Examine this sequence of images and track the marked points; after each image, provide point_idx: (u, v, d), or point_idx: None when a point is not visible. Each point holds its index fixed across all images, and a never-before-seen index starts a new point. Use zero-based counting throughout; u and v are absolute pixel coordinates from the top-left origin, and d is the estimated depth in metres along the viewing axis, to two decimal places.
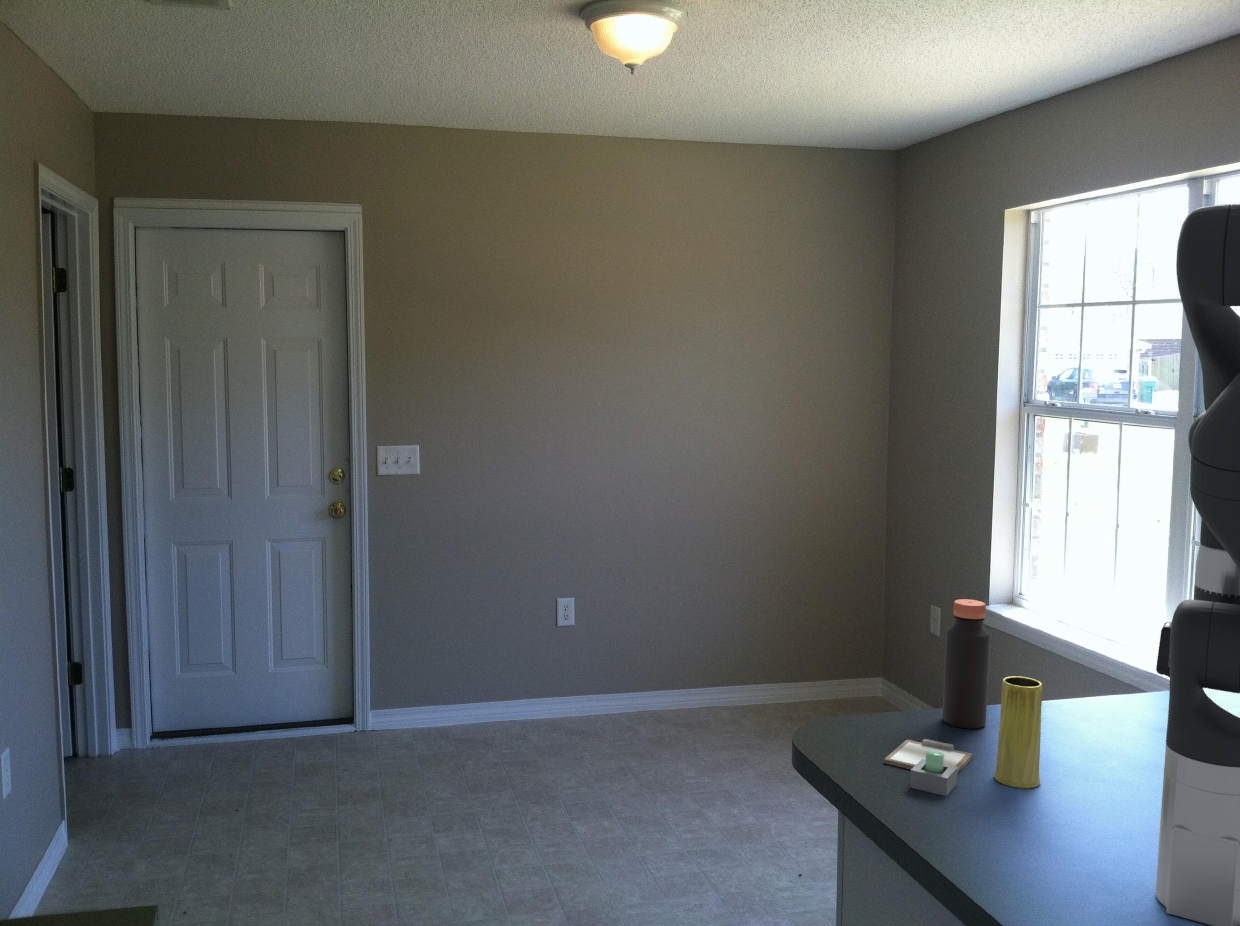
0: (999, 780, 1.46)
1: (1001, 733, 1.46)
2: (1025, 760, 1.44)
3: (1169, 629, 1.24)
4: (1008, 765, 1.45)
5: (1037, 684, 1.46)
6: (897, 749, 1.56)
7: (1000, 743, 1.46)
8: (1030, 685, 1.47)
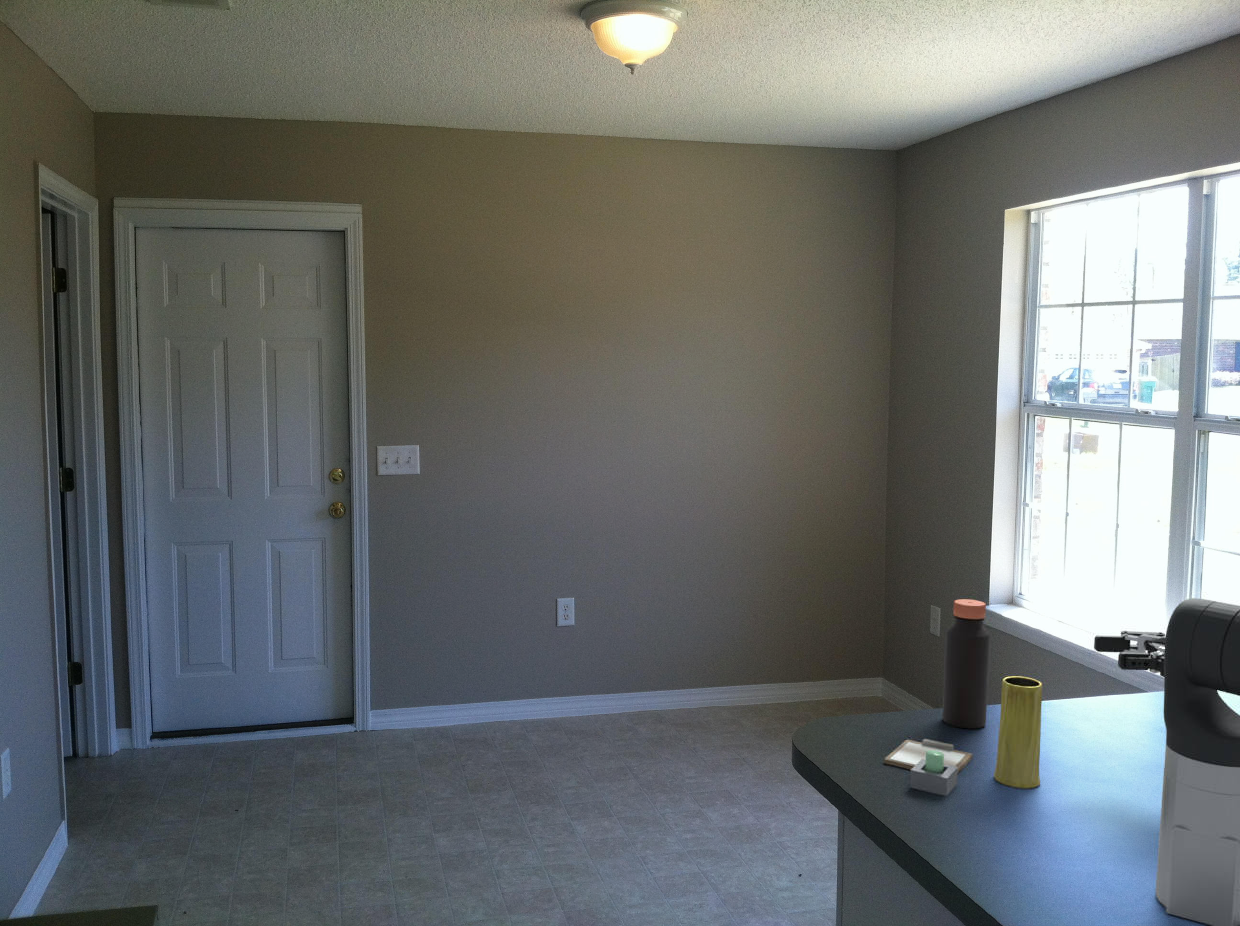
0: (999, 780, 1.46)
1: (1001, 733, 1.46)
2: (1025, 760, 1.44)
3: (1163, 634, 1.50)
4: (1008, 765, 1.45)
5: (1037, 684, 1.46)
6: (897, 749, 1.56)
7: (1000, 743, 1.46)
8: (1030, 685, 1.47)
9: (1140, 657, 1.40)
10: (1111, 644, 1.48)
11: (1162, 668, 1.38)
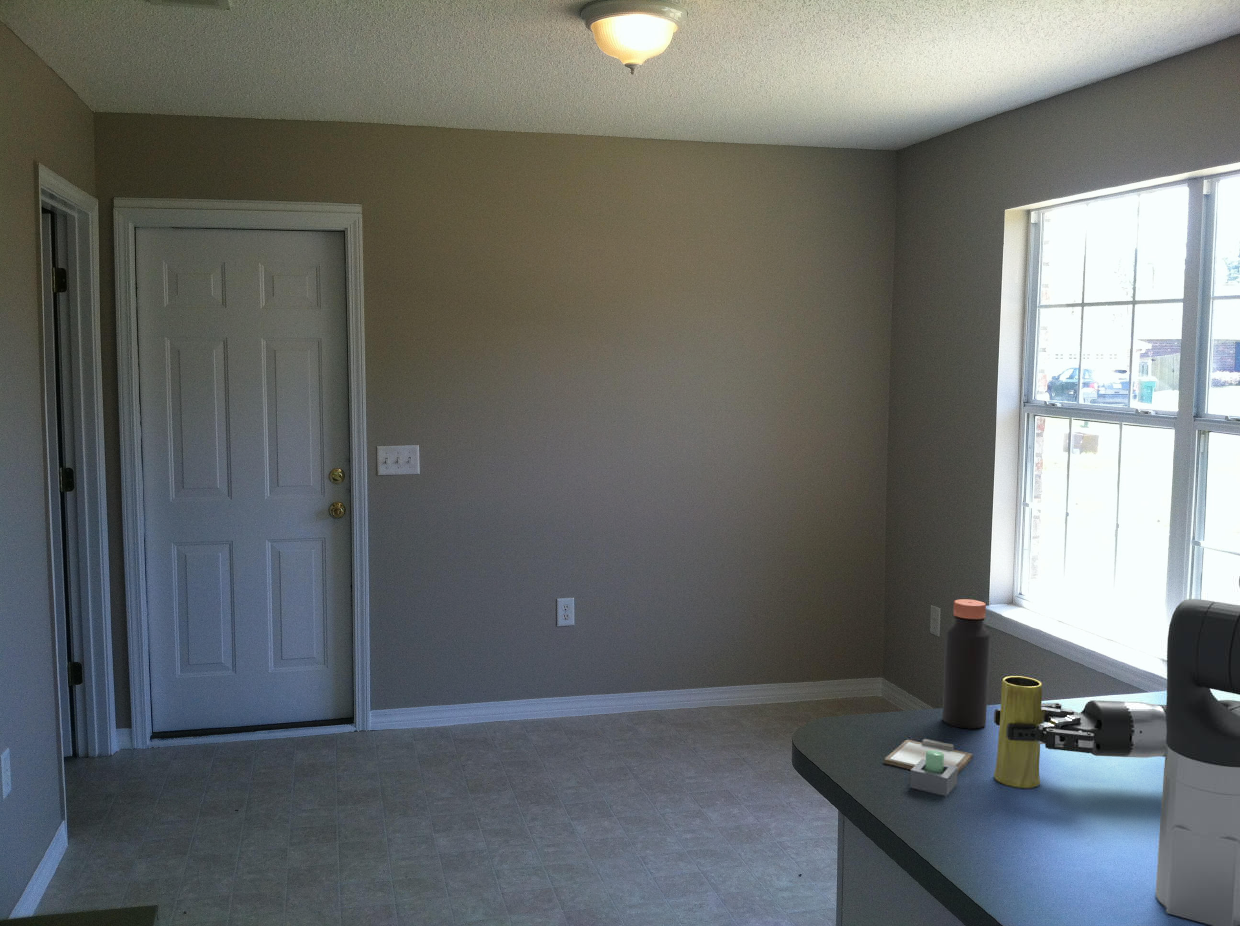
0: (999, 780, 1.46)
1: (1001, 733, 1.46)
2: (1025, 760, 1.44)
3: (1060, 704, 1.52)
4: (1008, 765, 1.45)
5: (1037, 684, 1.46)
6: (897, 749, 1.56)
7: (1000, 743, 1.46)
8: (1030, 685, 1.47)
9: (1027, 728, 1.43)
10: None
11: (1047, 740, 1.41)
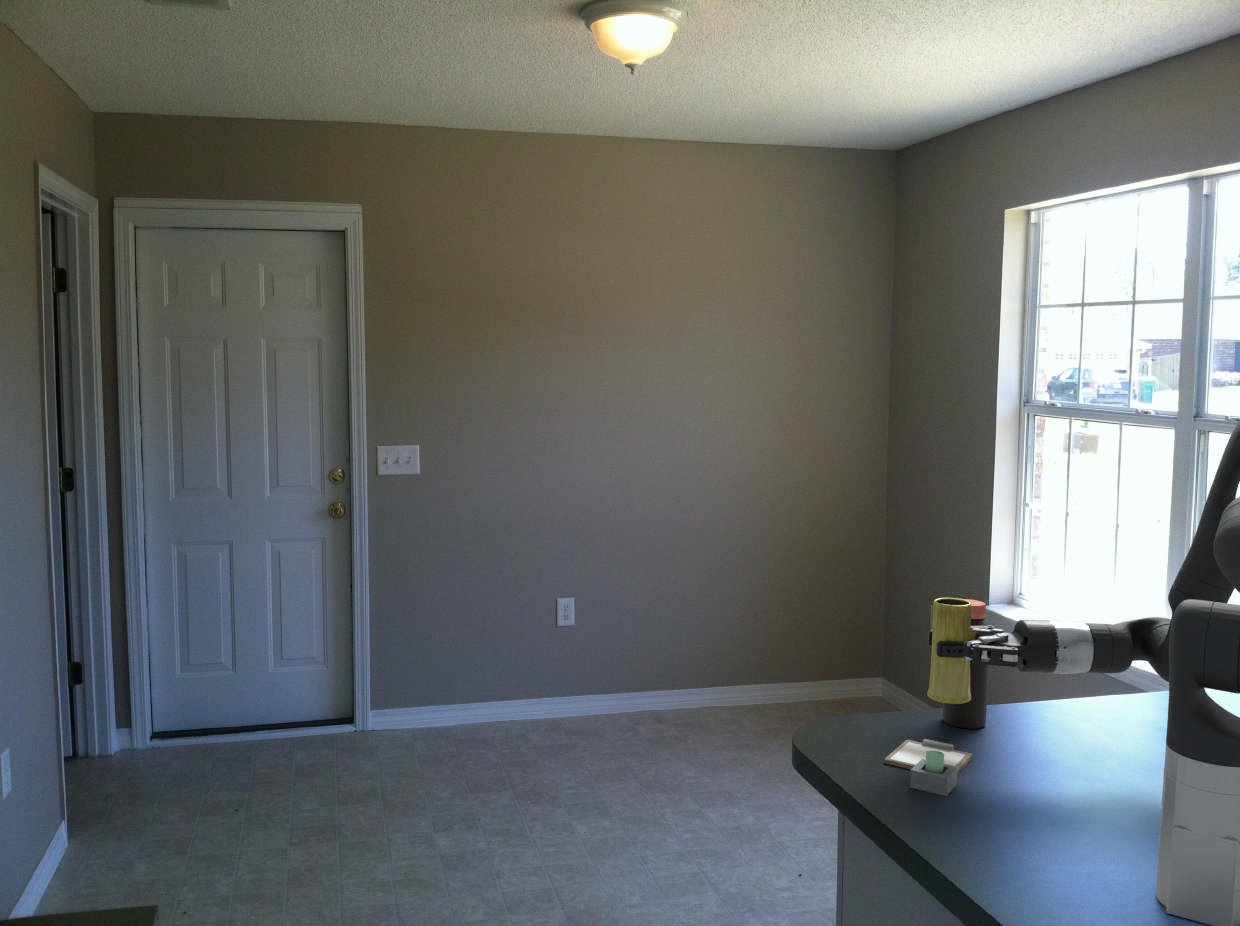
0: (931, 697, 1.51)
1: (933, 652, 1.52)
2: (955, 676, 1.49)
3: (993, 626, 1.57)
4: (939, 682, 1.50)
5: (967, 604, 1.52)
6: (897, 749, 1.56)
7: (932, 661, 1.52)
8: None
9: (955, 645, 1.48)
10: None
11: (973, 655, 1.46)
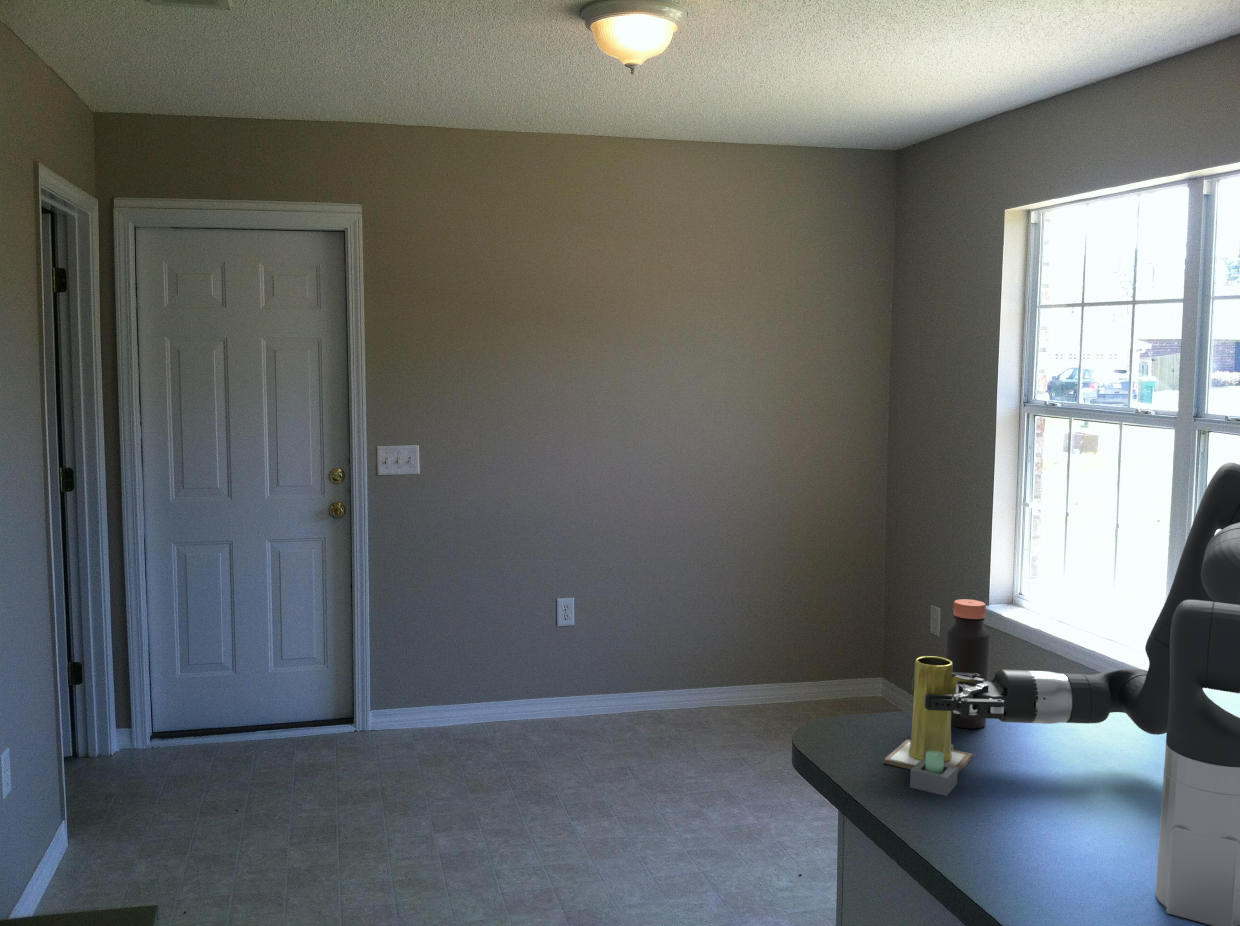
0: (913, 755, 1.53)
1: (914, 710, 1.53)
2: (936, 735, 1.51)
3: (978, 675, 1.58)
4: (920, 741, 1.52)
5: (948, 663, 1.53)
6: (897, 749, 1.56)
7: (913, 720, 1.53)
8: (942, 664, 1.54)
9: (943, 698, 1.48)
10: None
11: (962, 709, 1.46)
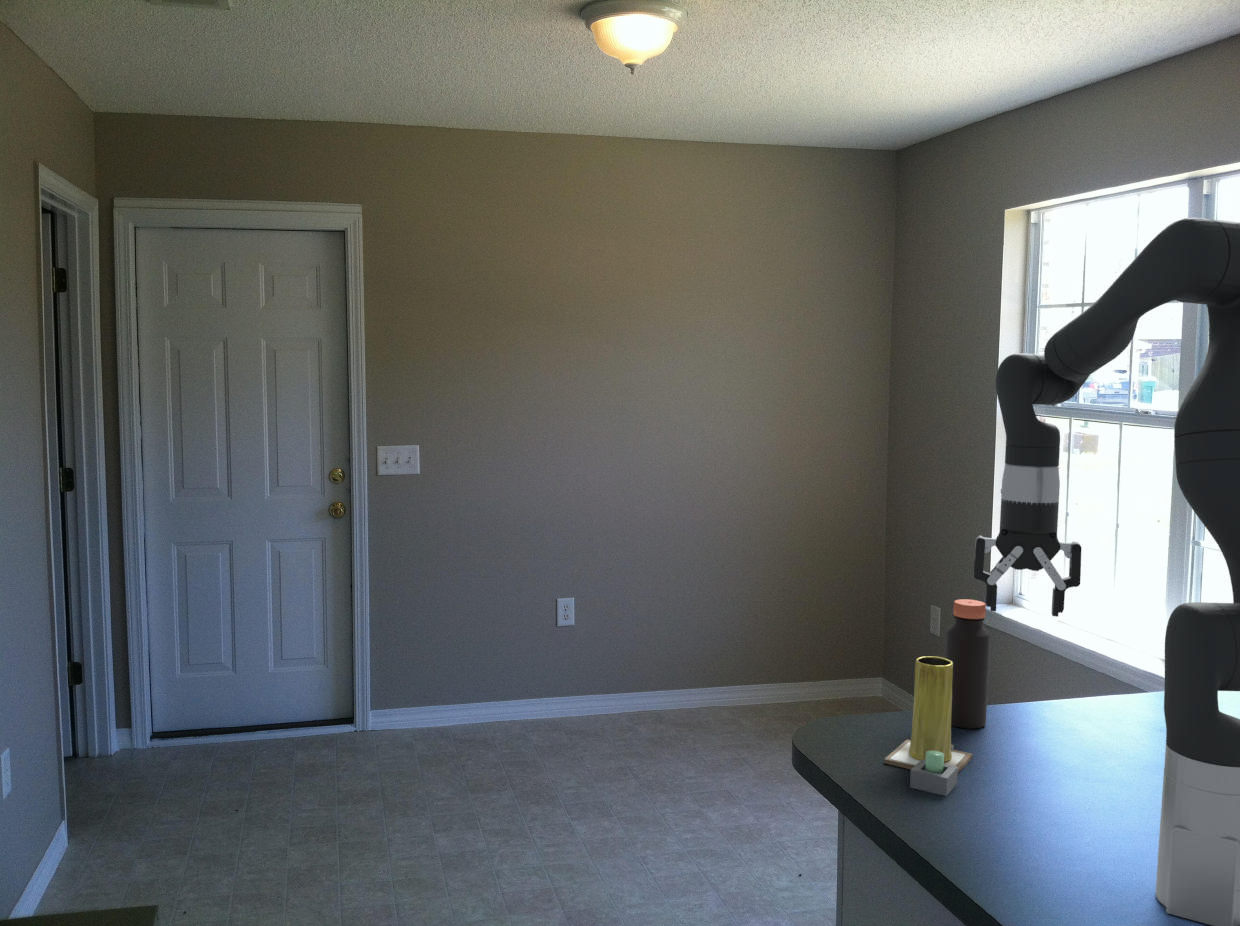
0: (913, 755, 1.53)
1: (914, 710, 1.53)
2: (936, 736, 1.51)
3: (982, 539, 1.47)
4: (921, 741, 1.52)
5: (949, 663, 1.53)
6: (897, 749, 1.56)
7: (914, 720, 1.53)
8: (943, 664, 1.54)
9: (1061, 599, 1.45)
10: None
11: None
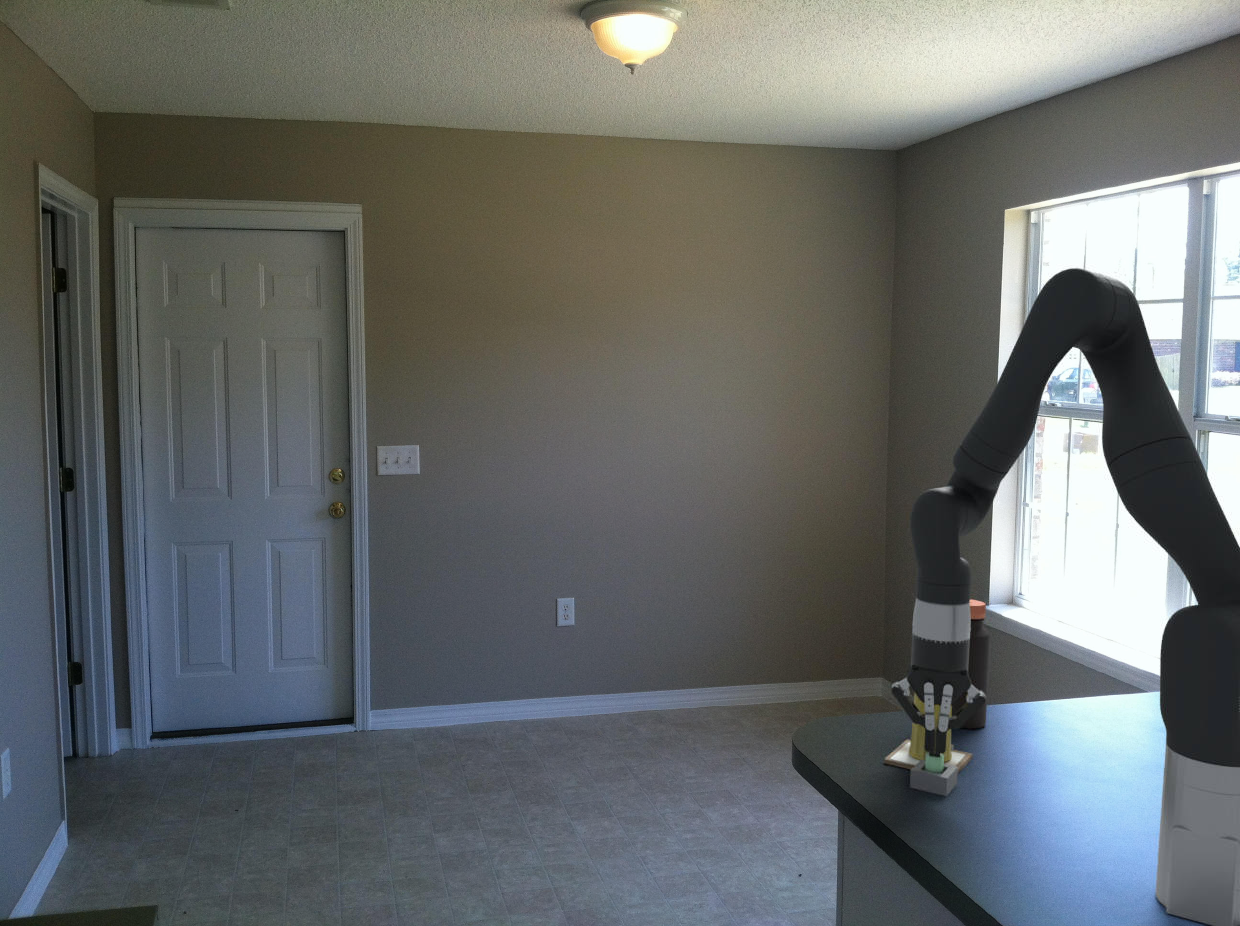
0: (913, 755, 1.53)
1: None
2: None
3: (895, 687, 1.44)
4: (921, 741, 1.52)
5: None
6: (897, 749, 1.56)
7: None
8: None
9: (943, 740, 1.43)
10: None
11: None
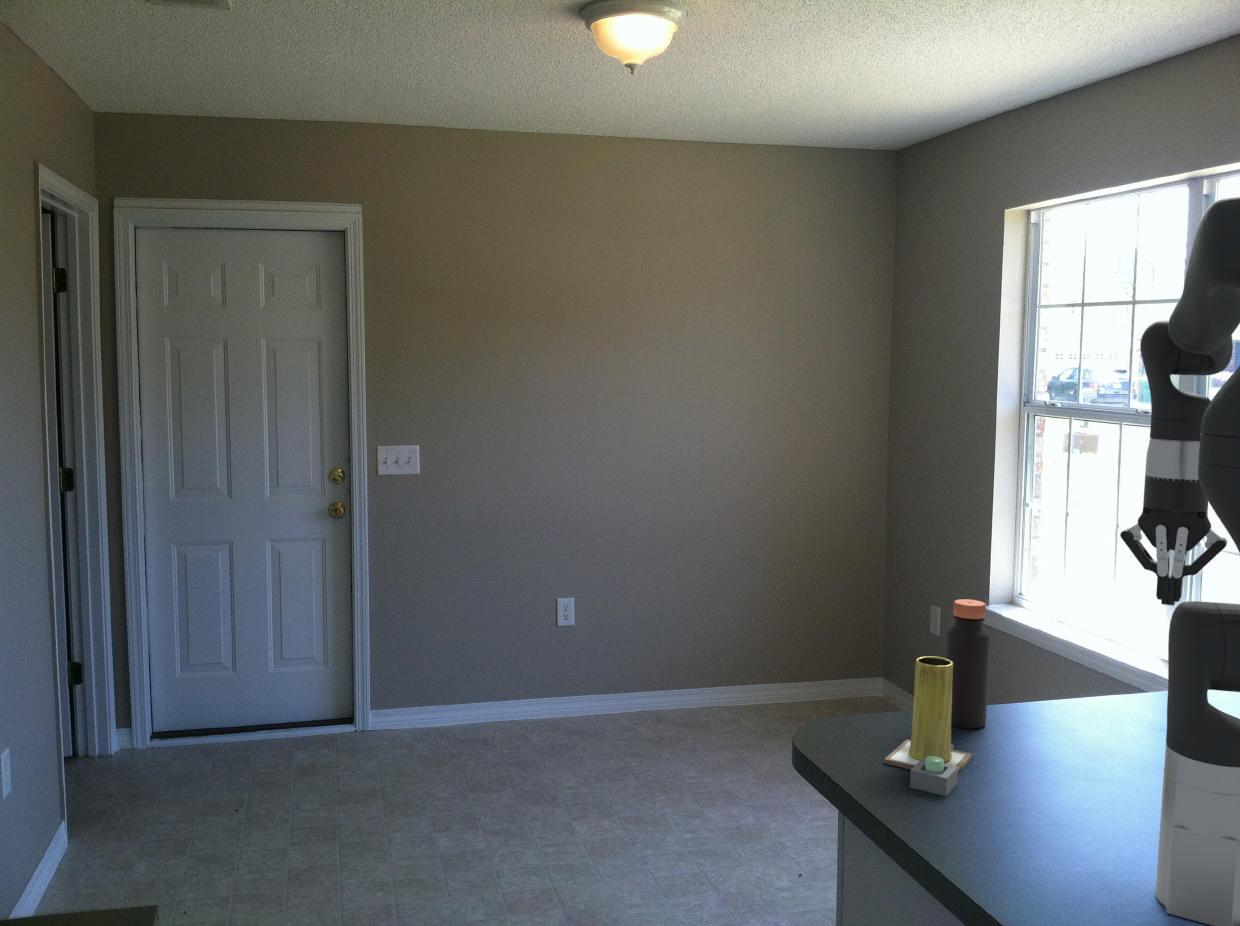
0: (913, 755, 1.53)
1: (914, 710, 1.53)
2: (936, 736, 1.51)
3: (1125, 532, 1.40)
4: (921, 741, 1.52)
5: (949, 663, 1.53)
6: (897, 749, 1.56)
7: (914, 720, 1.53)
8: (943, 664, 1.54)
9: (1177, 587, 1.37)
10: None
11: None
